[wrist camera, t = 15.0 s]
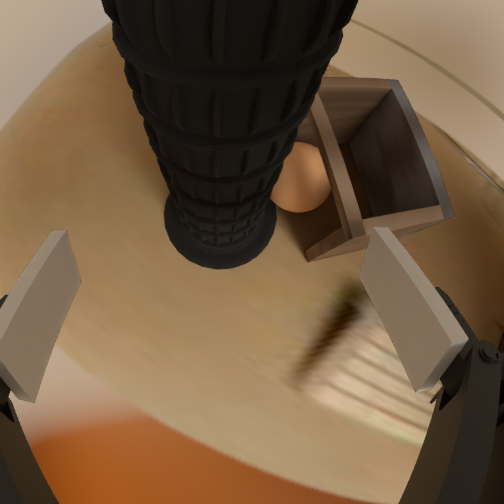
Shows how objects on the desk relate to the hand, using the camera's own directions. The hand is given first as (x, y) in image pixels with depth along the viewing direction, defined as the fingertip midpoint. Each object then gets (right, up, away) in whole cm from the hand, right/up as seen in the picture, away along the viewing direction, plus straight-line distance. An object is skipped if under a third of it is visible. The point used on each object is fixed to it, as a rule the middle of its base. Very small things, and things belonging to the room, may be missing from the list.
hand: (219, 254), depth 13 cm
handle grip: (-1, +4, +15) cm, 16 cm away
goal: (+9, +6, +17) cm, 20 cm away
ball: (+5, +6, +13) cm, 16 cm away
